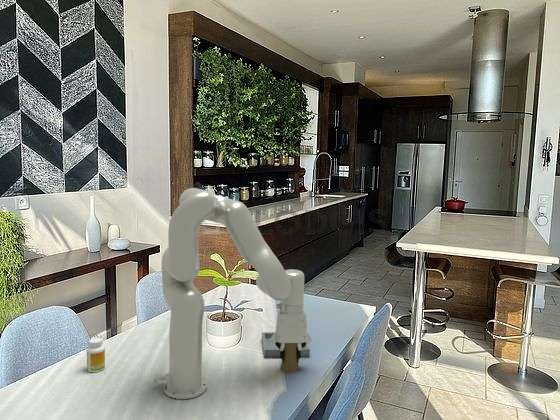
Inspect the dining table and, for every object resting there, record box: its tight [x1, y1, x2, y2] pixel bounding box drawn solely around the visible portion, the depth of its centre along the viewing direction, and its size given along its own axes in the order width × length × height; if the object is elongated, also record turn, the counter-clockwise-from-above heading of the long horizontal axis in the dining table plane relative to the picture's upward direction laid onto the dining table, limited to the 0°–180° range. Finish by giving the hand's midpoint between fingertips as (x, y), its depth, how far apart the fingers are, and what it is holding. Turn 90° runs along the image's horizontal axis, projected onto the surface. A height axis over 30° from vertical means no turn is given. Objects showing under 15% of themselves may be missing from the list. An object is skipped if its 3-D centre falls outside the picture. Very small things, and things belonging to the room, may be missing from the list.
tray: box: [261, 331, 311, 359], centre depth 164 cm, size 16×16×3 cm
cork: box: [280, 343, 300, 374], centre depth 148 cm, size 6×6×11 cm
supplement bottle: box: [86, 337, 106, 373], centre depth 143 cm, size 5×5×10 cm
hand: (290, 360), depth 148 cm, fingers closed on cork, 4 cm apart
